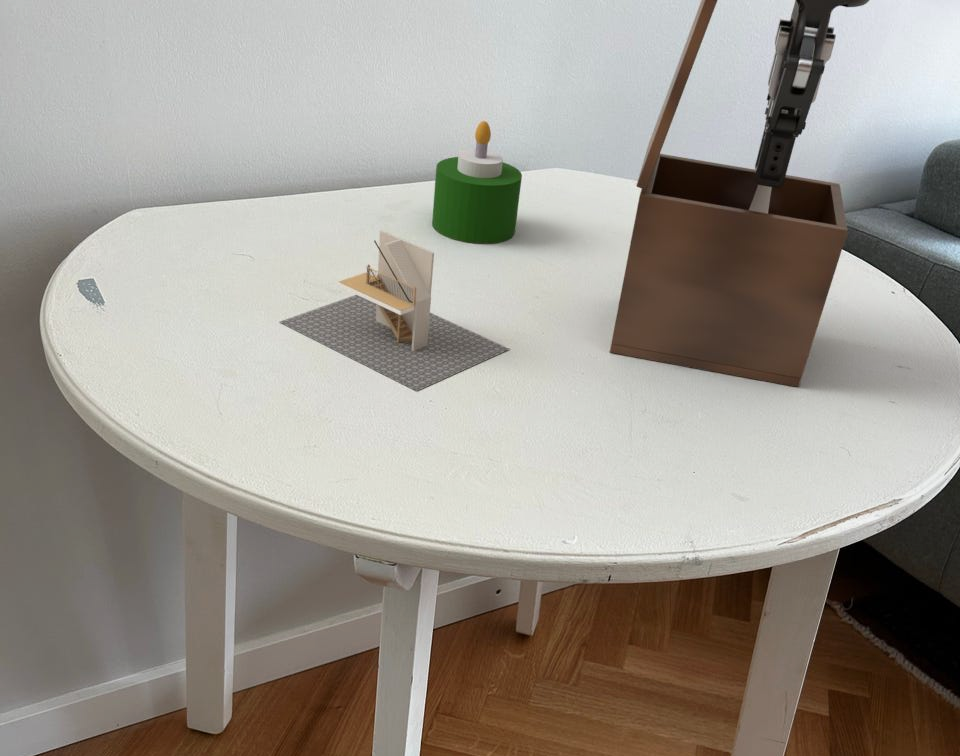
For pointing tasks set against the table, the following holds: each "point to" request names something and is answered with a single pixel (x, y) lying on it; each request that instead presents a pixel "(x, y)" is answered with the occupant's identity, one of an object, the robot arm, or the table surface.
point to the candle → (476, 194)
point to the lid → (676, 90)
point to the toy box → (728, 271)
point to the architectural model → (396, 321)
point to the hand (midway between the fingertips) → (767, 178)
